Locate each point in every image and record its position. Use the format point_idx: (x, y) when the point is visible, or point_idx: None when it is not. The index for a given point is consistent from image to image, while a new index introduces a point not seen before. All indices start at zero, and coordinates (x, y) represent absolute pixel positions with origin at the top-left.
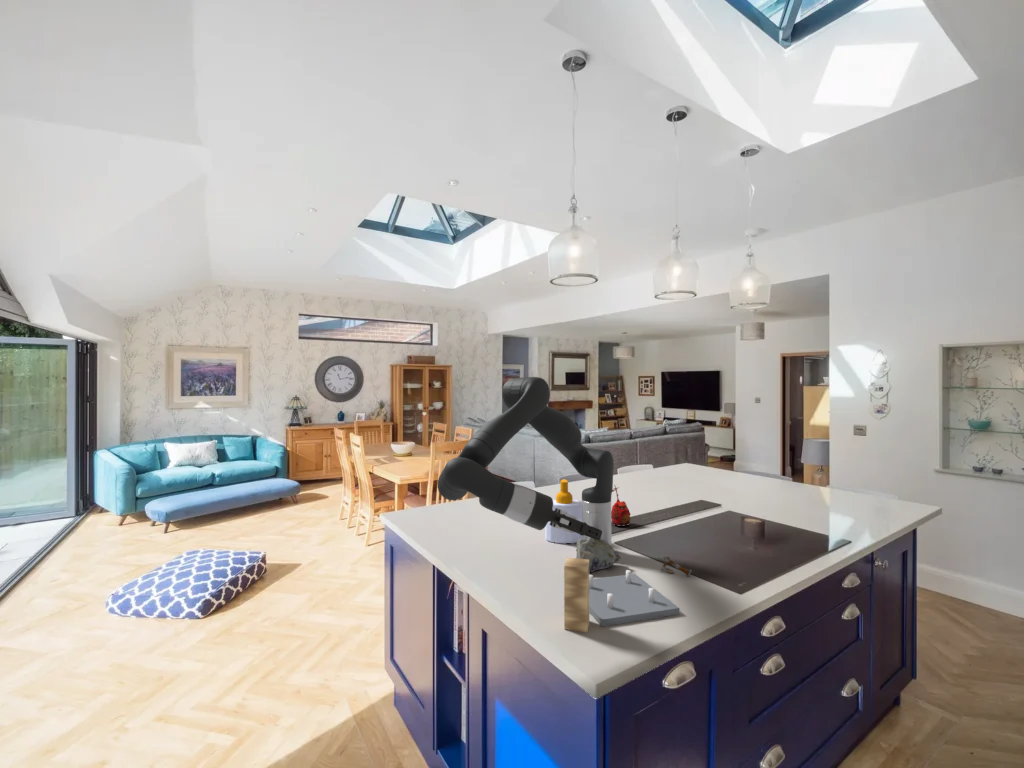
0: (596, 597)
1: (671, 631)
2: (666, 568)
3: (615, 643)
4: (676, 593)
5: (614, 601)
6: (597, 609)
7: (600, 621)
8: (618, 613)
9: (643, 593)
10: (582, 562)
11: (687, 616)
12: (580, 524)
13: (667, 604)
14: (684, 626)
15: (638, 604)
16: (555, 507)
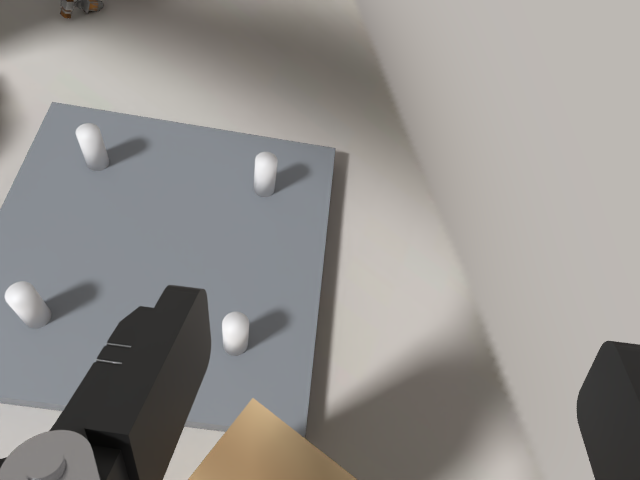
0: None
1: (408, 244)
2: (80, 2)
3: (421, 460)
4: (219, 84)
5: None
6: (225, 402)
7: None
8: (289, 343)
9: (201, 174)
10: (277, 474)
11: (350, 151)
12: (178, 361)
13: (302, 161)
14: (395, 195)
15: (262, 238)
16: None
